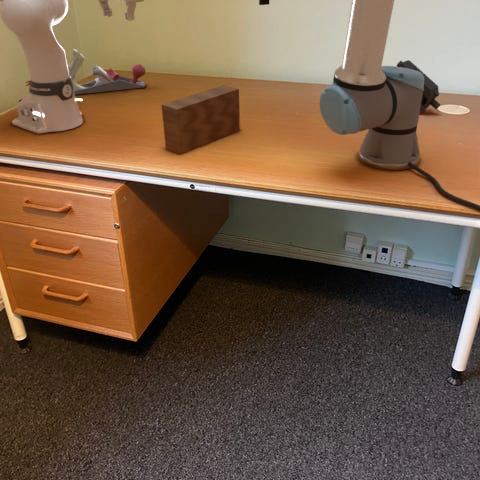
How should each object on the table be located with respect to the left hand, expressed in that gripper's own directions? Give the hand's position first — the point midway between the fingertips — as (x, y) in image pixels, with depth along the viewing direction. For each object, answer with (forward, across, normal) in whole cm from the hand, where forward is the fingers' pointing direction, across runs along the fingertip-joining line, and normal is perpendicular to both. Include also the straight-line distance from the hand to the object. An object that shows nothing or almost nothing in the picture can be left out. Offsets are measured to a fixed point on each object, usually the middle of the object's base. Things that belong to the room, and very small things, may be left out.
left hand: (118, 18), depth 138 cm
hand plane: (+33, -49, +24) cm, 63 cm away
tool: (+33, +48, +74) cm, 94 cm away
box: (+33, +16, +13) cm, 39 cm away
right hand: (-2, +17, +33) cm, 37 cm away
